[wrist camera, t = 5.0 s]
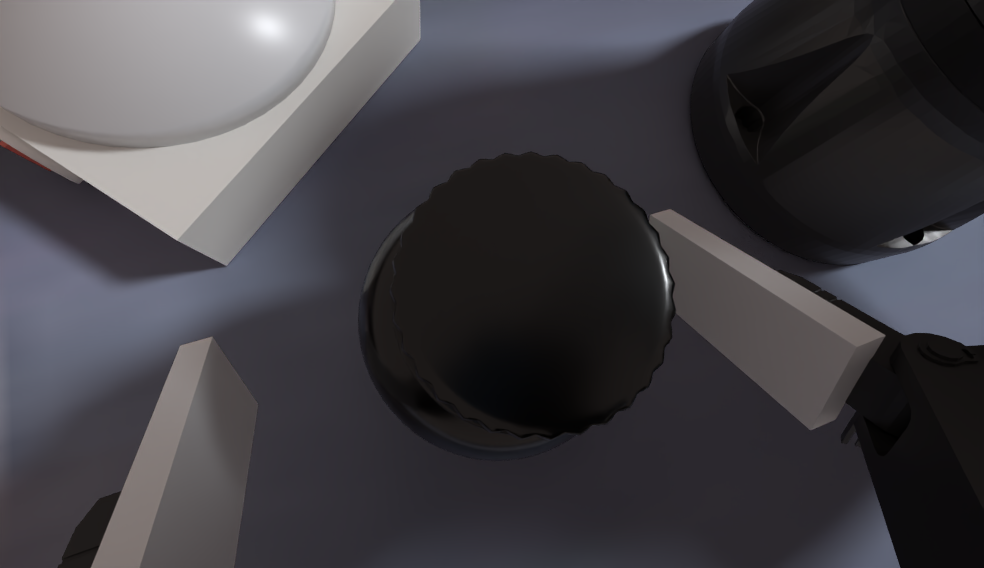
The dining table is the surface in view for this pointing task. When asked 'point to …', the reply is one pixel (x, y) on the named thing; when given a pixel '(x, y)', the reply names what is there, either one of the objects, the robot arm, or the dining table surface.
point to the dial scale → (193, 99)
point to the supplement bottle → (516, 308)
